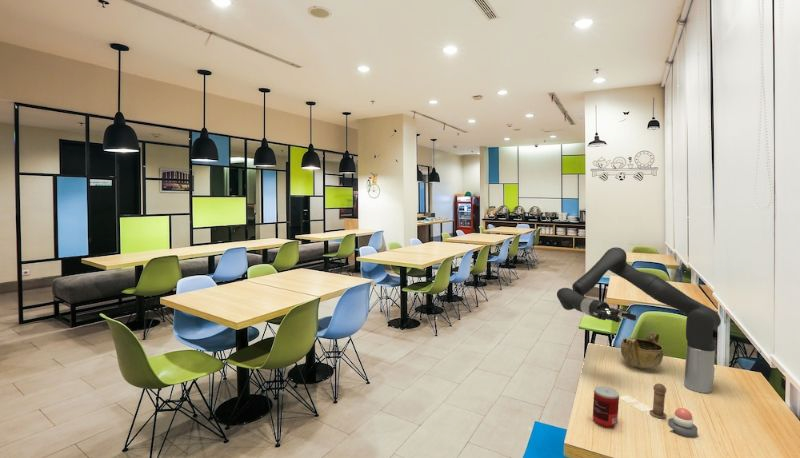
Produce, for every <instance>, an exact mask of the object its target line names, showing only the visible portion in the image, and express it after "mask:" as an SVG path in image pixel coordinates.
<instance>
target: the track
mask: <svg viewBox="0 0 800 458" xmlns="http://www.w3.org/2000/svg"><path fill="white" fill-rule="evenodd" d="M619 400H621V401H623V402H625V403H627V404H630V405H631V406H632V407H634V408H636V409H637V410H639V411H641V412H643V413H645V412H646V413H645V414H647V415H648V416H650V417H652V416H651V415H650V410H653V407H650V406H649V405H646V404H645V403H643V402H640V401H639V400H637V399H635V398H634V397H632V396H630V395H628V394H626V395H622V396H620V395H619ZM652 418H653V419H656V421H659V422H661V421H665V420H669V419H671V417H669V416H667V415H666V419H657V418H654V417H652Z"/></svg>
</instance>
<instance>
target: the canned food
mask: <svg viewBox="0 0 800 458" xmlns="http://www.w3.org/2000/svg"><path fill="white" fill-rule="evenodd" d="M619 397H620V393H619V391H617V390H616V389H615V388H612V387H610V386H605V385H599V386H595V387H594V391H593V403H592V404H593V405H592V421H594V423H595V424H596V425H598V426H600V427H603V428H607V429H608V428H609V429H613V428H615V427H616V425H617V424H618V418H619V417H618V416H619V403H620V398H619Z"/></svg>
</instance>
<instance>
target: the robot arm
mask: <svg viewBox="0 0 800 458" xmlns="http://www.w3.org/2000/svg"><path fill="white" fill-rule="evenodd" d="M627 258H628V257H627V252H626V251H625V250H624V249H623V248H621V247H618V246H617V247H615V246H614V247H611V248H609V249H607V250H606V251H605V253H603V255H602V256H601V258H600V259H599V260H598V261H597V262H596V263H595V264H594V265H593V266H592V267H591V268H590V269H589V270H588V271H587V272H585V273H584V274H583V275H582V276H580V277H579V278H578V279H577V280H576V281H575V282H573V283H572V288H570V287H562V288H560V289H558V290H557V293H556V297H557V299H558V300H559V302H560V303H559V304H561V307H562V308H563V309H564V310H567V311H571V310H574V309H575V310H576V311H577V312H581V313H584V314H585V315H588V316H590V317H593V318H596V319H598V320H603V321H606V320H607V321H612V322H615V323H621V319H622V318H623V319H628V320H630V321H633V322H634V321H636V320H637V315H636V314H633V313H631V311H630V310H627V309H623V308H621V307H617V308H615V307H610V305H609V304H608V303H607V302H606V301H603V300H599V299H596V298H592V297H588V296H585V295H586V294H588V293H589V292H590V291H591V290H592V289H593V288H594V287H596V285H597V284H598V283H599V282H600V281H601V280H602V278H603V277H604V275H605V274H606V273H607V272H608V271H609V272H611V273H613V274H615V275H617V276H618V277H620V278H622V279H624V280H626V281H627V282H629V283H630V284H632V285H633V286H635V287H636V288H638V289H639V290H641V291H642V292H643V293H645V294H646V295H647V296H649V297H650V298H652V299H654V300H655V301H657V302H659V303H661V304H663V305H667V306H669V307H671V308H673V309H676V310H678V311H680V312H681V313H683V314H685V315H686V322H685V339H686V341H687V342H686V353H685V354H686V355H685V364H684V365H685V368H684V377H683V378H684V380H683V386H684V387H685V388H687V389H689V390H691V391H695V392H698V393H702V394H709V393H712V391H713V389H714V379H715V370H716V369H715V353H716V343H715V341H714V339H713V338H714V330H715V329H718V328H719V327H720V325H721V321H722V320H721V317H720V314H719V313H718V312H716V311H715V310H714V309H712V308H711V307H709V306H707V305H705V304H703V303H701V302H699V301H697V300H695V299H694V298H692V297H690V296H688V295H687V294H685V293H684V292H683V291H681V290H680V289H678V288H677V287H675V286H673V285H672V284H670V283H669V282H668V281H666V280H665V279H663V278H661V277H660V276H658V275H656V274H653V273H650V272H646V271H644V272H643V271H641V270H639V269H636V268H635V267H633V266H631V265H630V264H629V263H628V262H627Z"/></svg>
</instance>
